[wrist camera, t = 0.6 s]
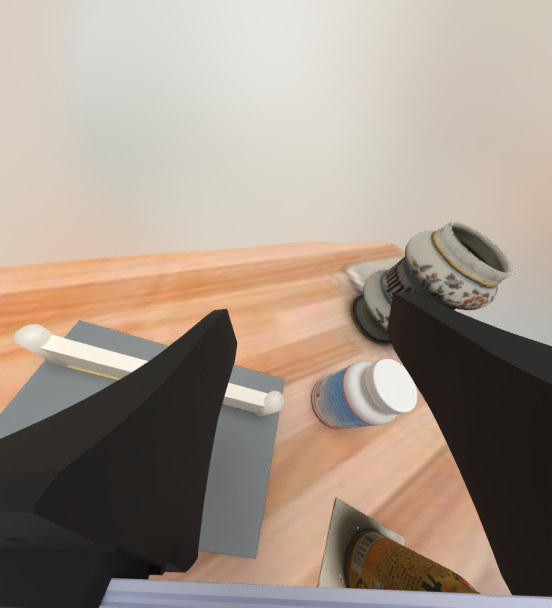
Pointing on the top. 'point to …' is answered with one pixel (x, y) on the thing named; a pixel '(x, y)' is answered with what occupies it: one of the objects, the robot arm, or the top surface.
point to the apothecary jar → (434, 276)
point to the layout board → (226, 449)
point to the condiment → (379, 559)
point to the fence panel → (253, 400)
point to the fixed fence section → (75, 352)
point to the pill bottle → (364, 394)
